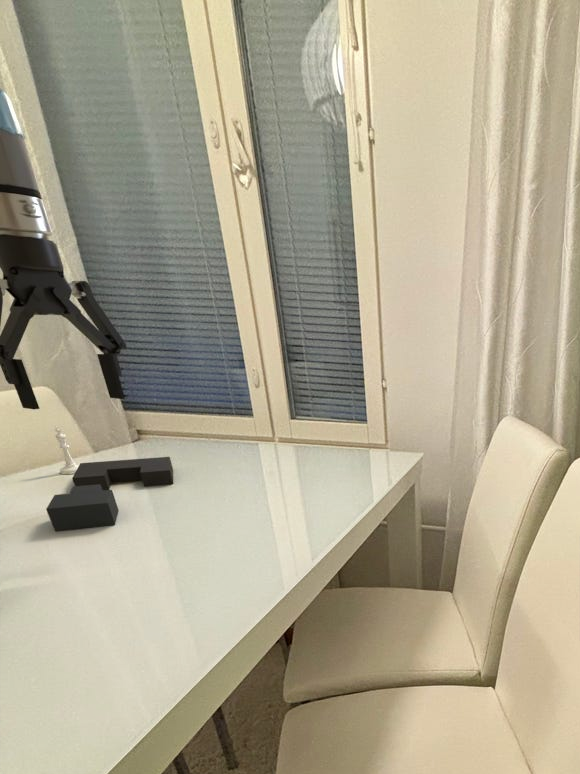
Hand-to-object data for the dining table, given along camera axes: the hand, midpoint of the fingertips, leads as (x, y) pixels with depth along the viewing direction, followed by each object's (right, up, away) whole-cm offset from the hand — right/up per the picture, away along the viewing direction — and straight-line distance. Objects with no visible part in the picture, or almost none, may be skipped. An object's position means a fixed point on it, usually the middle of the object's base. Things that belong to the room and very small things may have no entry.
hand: (77, 403), depth 86 cm
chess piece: (-32, +2, +42) cm, 52 cm away
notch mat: (-15, -1, +36) cm, 39 cm away
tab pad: (-9, -14, +15) cm, 22 cm away
